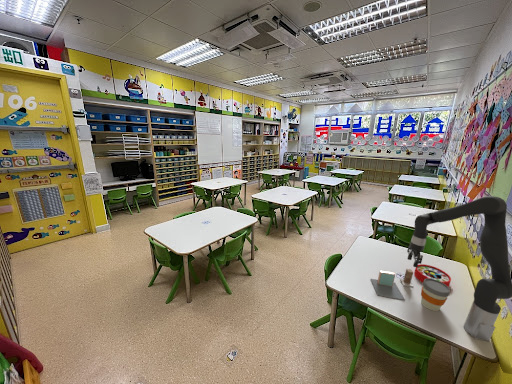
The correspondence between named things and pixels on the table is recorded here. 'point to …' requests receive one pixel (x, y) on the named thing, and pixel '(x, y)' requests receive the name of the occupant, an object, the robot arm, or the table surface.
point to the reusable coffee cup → (434, 294)
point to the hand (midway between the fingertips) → (412, 263)
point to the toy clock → (431, 274)
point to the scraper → (407, 278)
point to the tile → (386, 278)
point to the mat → (387, 290)
